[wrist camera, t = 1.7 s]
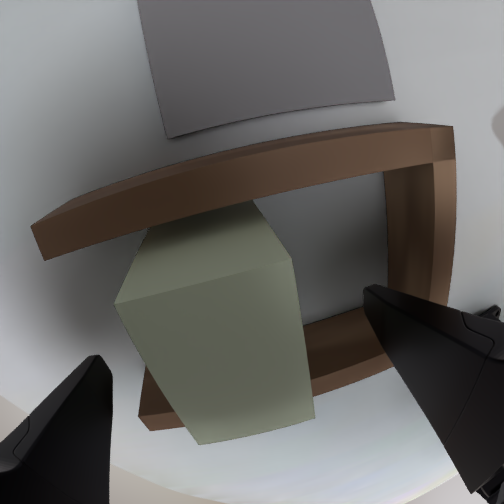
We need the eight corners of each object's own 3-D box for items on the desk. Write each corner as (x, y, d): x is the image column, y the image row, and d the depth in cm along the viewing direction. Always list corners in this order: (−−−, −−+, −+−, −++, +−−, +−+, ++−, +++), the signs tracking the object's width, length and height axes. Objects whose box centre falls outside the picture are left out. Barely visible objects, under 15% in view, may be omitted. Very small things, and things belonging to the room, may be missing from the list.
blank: (276, 319, 14) (315, 418, 9) (195, 339, 14) (198, 445, 9) (249, 196, 12) (291, 258, 6) (152, 223, 12) (113, 304, 6)
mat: (384, 100, 11) (395, 100, 10) (170, 138, 10) (167, 139, 10) (334, -64, 7) (341, -71, 6) (132, -45, 7) (129, -54, 6)
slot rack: (404, 308, 15) (438, 344, 12) (155, 379, 15) (149, 430, 11) (399, 122, 11) (453, 126, 8) (72, 199, 11) (30, 226, 7)
